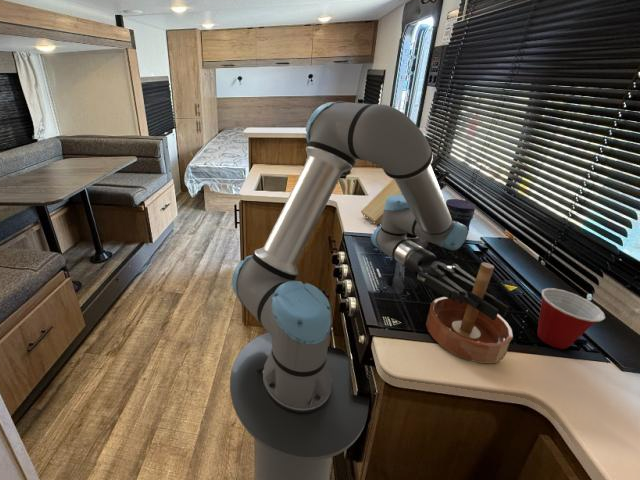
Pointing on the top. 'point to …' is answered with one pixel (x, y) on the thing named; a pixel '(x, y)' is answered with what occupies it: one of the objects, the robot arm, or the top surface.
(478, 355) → the bowl
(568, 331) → the plastic cup
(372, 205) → the knife block
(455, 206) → the storage jar
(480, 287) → the wooden pestle
